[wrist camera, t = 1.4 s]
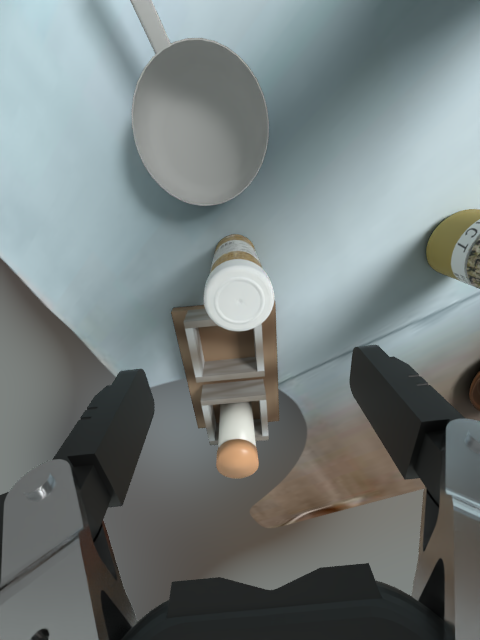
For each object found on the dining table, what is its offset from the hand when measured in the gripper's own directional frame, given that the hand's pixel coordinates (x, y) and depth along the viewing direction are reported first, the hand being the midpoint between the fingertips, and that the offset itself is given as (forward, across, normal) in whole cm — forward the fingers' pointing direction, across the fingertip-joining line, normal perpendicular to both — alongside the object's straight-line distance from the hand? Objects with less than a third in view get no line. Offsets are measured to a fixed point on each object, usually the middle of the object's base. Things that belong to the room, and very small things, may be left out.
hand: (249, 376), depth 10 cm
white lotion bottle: (+19, +2, +20) cm, 28 cm away
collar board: (+20, +2, +15) cm, 25 cm away
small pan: (+21, +3, -14) cm, 25 cm away
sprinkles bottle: (+21, 0, 0) cm, 21 cm away
